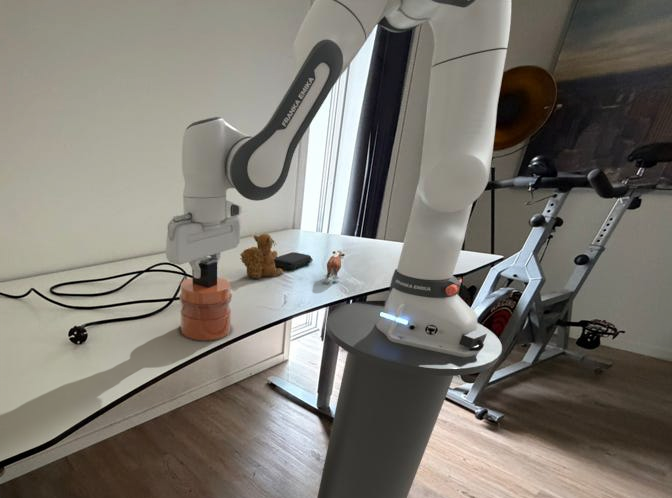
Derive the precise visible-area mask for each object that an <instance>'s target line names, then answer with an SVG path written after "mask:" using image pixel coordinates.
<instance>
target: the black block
mask: <svg viewBox="0 0 672 498" xmlns="http://www.w3.org/2000/svg"><path fill="white" fill-rule="evenodd" d="M199 267H200V269H202V270H203V277H201V278H198V279H197V278H194V276H193V269H192V268H191V273H192V277H191V278H193V283H194V284H197V285H200V286H204V287H207V288H210V287H212V286H215V285H217V277H218V264H217V259H213V258H211V257H210V256H207V257H204V258H200V263H199Z"/></svg>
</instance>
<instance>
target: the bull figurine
mask: <svg viewBox="0 0 672 498" xmlns="http://www.w3.org/2000/svg"><path fill="white" fill-rule="evenodd" d="M344 259H345V253H344V252H343V250H340V249H338V250H337V251H335V250H333V251H332V256H330V257H329V259H328V261H327V263H326V270H327V271H326V280H325V281H324V283H325V284H328V283H329V279H330V277H333V283H338V280H337V279H338V273H339V271H340V270H341V269H342V260H344Z"/></svg>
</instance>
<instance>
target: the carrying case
mask: <svg viewBox="0 0 672 498" xmlns="http://www.w3.org/2000/svg"><path fill="white" fill-rule="evenodd" d="M313 261H314V259H313V258H312V256H311V255H310V254H305V253H300V252H296V251H295V252H294V251H292V252H289V253H285V254H282V255H279V256H277V257H276V258H275V259H274V263H275V268H280V269H282V270H286V271H293V270H295V269H299V268H300V267H304V266H306V265H308V264H312V263H313Z"/></svg>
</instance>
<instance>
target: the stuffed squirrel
mask: <svg viewBox="0 0 672 498" xmlns="http://www.w3.org/2000/svg"><path fill="white" fill-rule="evenodd" d="M253 239H254V241H255V242H256V245H257V246H251V247H250V248H249V247H248V248H246V249H244V250H243V252H240V254H239V256H240V258H239V259H240V260H241V263H243V264H244V267H245V268H246V274H247V276H249V277H250V278H253V279H256V280H259V279H261V278H262V277H263V278H270V277H271V278H272V277H277V276H280V275H282V274H283V271H284V270H283V269H282V268H278V267H275V263H274V259H275V258H276V257H278V251H276V250H273V251H272V248H273V247H275V246H277V242H276V241H275V240H274V239H273V237H272V236H271V235H270V234H269V233H262V234H259V235H256V234H254V235H253Z"/></svg>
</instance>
